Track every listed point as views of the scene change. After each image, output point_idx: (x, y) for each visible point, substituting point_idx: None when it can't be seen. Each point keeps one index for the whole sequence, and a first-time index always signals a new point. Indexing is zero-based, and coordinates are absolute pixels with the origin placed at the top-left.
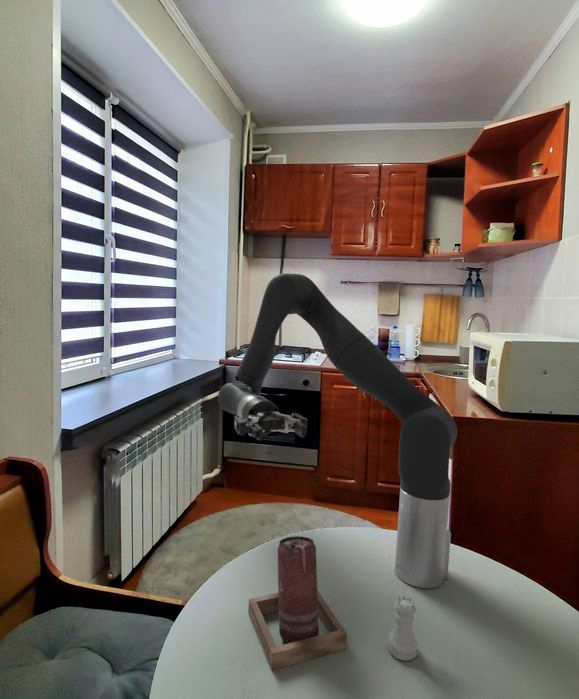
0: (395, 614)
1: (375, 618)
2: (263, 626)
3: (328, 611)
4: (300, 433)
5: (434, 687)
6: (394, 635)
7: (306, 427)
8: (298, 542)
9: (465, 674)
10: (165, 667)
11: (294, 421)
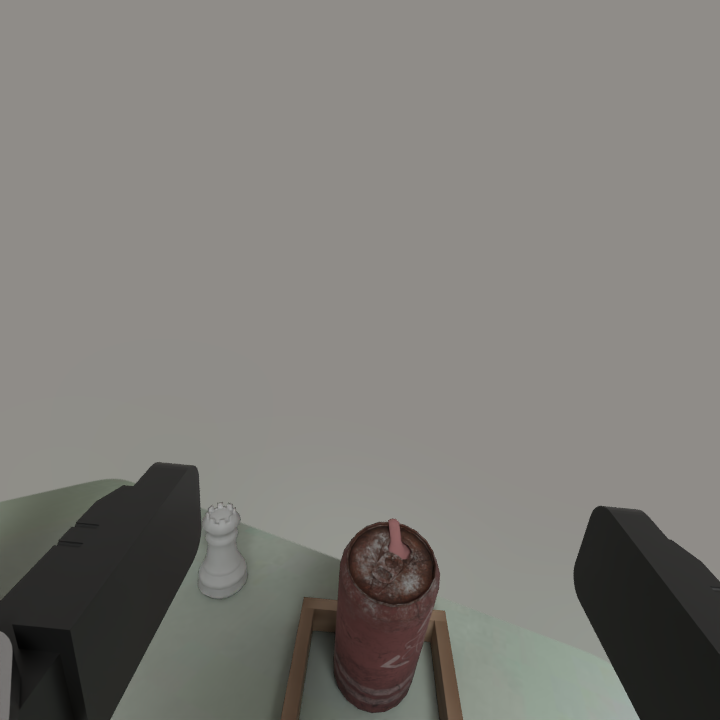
0: (231, 540)
1: (192, 658)
2: (449, 675)
3: (299, 658)
4: (185, 545)
5: (240, 529)
6: (237, 561)
7: (124, 485)
8: (384, 563)
9: None
10: (636, 717)
11: (11, 698)
